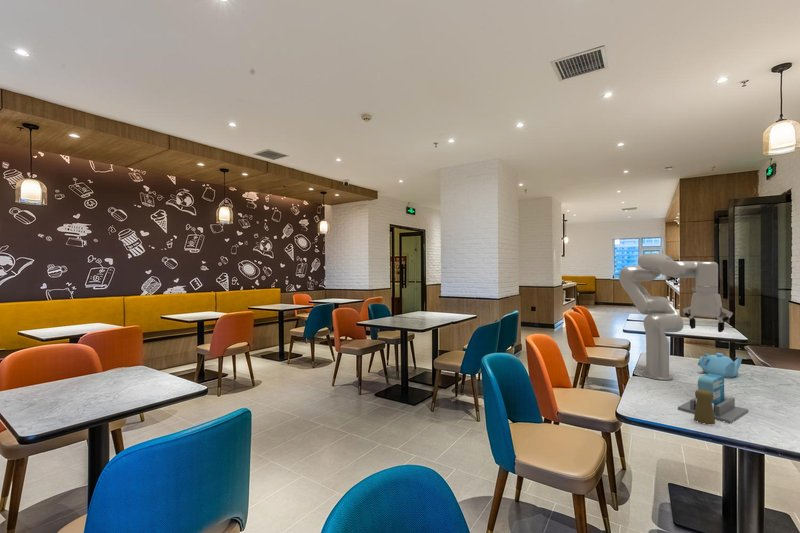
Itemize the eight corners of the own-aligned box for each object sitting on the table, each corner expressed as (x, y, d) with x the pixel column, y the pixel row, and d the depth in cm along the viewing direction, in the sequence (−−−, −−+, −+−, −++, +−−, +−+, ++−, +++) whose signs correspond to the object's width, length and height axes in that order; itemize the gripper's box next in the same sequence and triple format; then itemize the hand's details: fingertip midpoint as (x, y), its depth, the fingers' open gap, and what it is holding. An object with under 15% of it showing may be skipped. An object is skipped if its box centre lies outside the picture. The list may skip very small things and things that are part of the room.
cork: (689, 418, 138) (689, 388, 138) (704, 417, 138) (704, 387, 138) (703, 425, 132) (703, 393, 132) (719, 424, 132) (719, 393, 132)
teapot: (705, 368, 204) (705, 348, 204) (742, 374, 192) (742, 353, 192) (696, 373, 195) (696, 352, 195) (735, 380, 183) (734, 358, 183)
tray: (677, 409, 146) (677, 396, 146) (697, 399, 157) (697, 387, 157) (730, 423, 133) (730, 409, 133) (748, 411, 143) (748, 398, 143)
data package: (712, 412, 140) (712, 380, 140) (697, 409, 144) (697, 377, 144) (724, 406, 146) (724, 375, 147) (710, 402, 150) (710, 372, 150)
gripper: (679, 289, 168) (679, 328, 168) (729, 292, 153) (728, 334, 153) (686, 288, 172) (686, 326, 172) (735, 291, 157) (735, 332, 157)
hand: (706, 330), depth 163 cm, fingers open, 9 cm apart
